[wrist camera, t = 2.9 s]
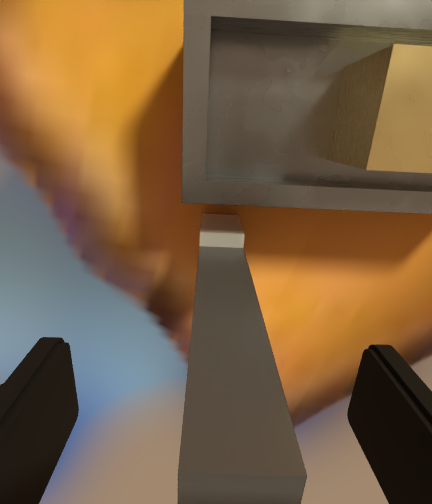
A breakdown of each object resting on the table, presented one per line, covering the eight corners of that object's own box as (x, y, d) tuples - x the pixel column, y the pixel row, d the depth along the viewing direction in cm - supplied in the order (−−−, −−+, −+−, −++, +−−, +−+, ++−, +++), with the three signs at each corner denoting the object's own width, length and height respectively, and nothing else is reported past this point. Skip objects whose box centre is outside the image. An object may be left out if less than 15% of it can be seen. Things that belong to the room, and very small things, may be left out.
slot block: (519, 50, 17) (666, 12, 12) (468, 194, 20) (567, 220, 15) (193, 29, 17) (184, -20, 11) (190, 181, 20) (181, 202, 14)
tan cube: (432, 72, 14) (512, 51, 10) (407, 164, 15) (470, 175, 12) (344, 66, 14) (393, 43, 10) (328, 160, 15) (366, 169, 12)
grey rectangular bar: (238, 215, 20) (314, 445, 6) (234, 270, 22) (284, 571, 7) (201, 213, 20) (178, 443, 5) (199, 269, 22) (177, 570, 7)
